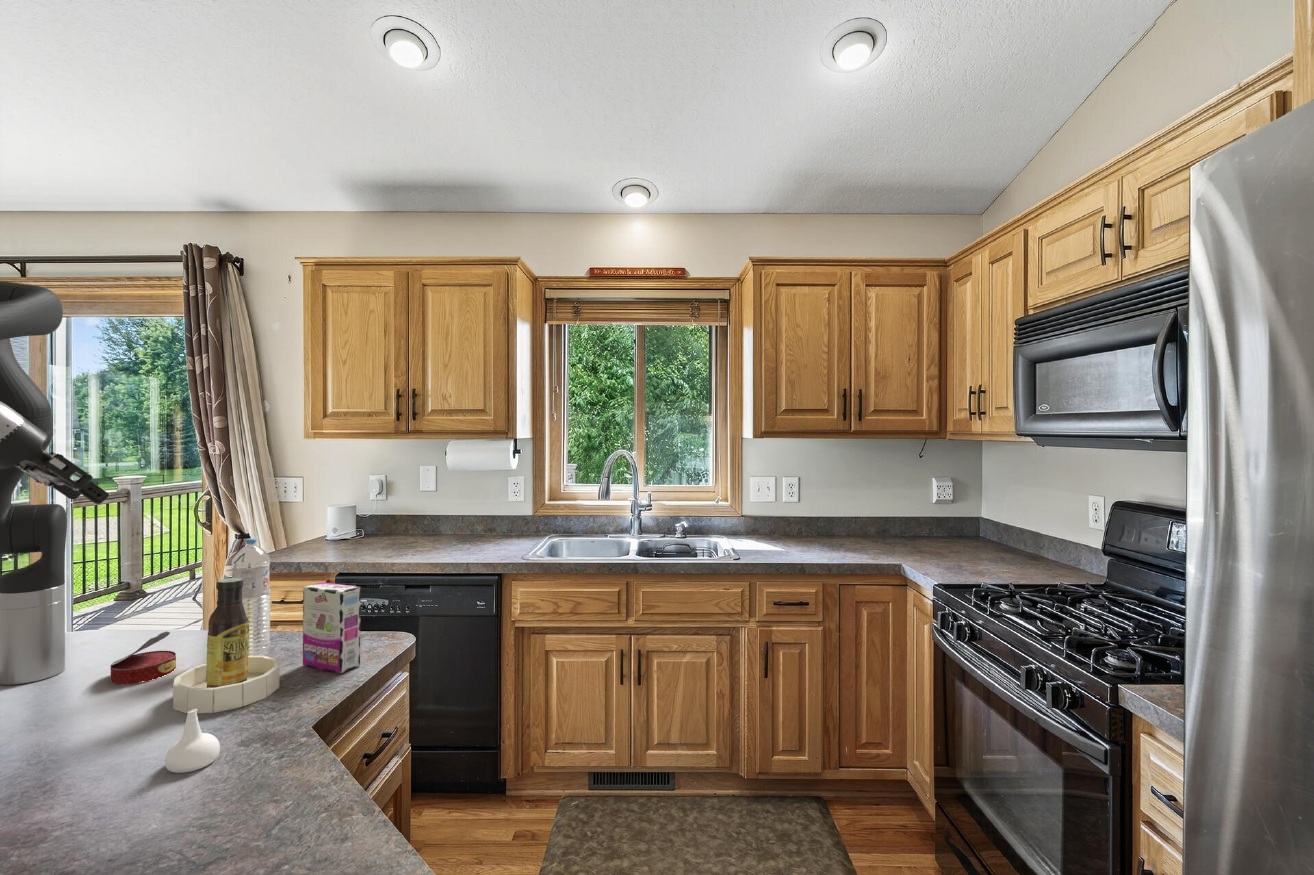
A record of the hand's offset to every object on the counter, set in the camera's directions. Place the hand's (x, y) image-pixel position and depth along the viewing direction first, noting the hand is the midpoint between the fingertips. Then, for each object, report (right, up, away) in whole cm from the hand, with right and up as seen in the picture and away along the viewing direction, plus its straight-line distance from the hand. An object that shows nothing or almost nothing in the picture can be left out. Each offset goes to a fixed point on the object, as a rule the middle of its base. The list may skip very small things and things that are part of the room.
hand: (90, 497), depth 103 cm
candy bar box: (+30, -37, +21) cm, 52 cm away
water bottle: (+10, -36, +25) cm, 46 cm away
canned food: (-4, -37, +16) cm, 40 cm away
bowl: (+18, -37, +7) cm, 42 cm away
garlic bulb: (+29, -37, -16) cm, 50 cm away
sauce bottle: (+18, -36, +7) cm, 41 cm away
